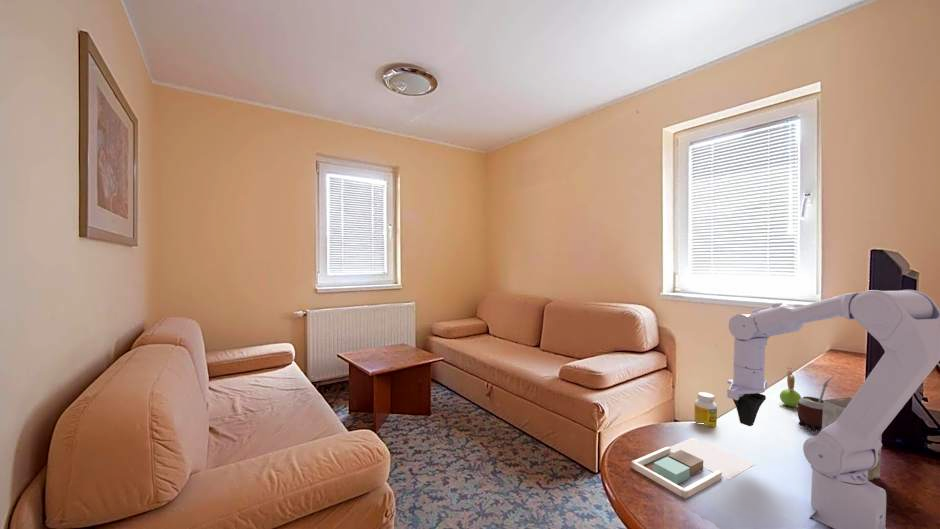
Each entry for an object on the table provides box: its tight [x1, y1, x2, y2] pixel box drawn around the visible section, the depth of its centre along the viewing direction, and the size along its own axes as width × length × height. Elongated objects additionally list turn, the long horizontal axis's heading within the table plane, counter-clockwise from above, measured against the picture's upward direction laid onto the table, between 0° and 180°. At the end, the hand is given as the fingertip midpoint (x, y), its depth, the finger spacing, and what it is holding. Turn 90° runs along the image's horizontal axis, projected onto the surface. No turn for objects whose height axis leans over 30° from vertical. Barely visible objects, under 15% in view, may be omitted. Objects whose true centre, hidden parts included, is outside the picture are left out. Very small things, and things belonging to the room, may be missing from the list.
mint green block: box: [652, 456, 691, 485], centre depth 79 cm, size 5×5×3 cm
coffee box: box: [822, 396, 883, 481], centre depth 84 cm, size 9×6×16 cm
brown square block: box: [667, 450, 704, 477], centre depth 83 cm, size 5×5×3 cm
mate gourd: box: [797, 374, 834, 432], centre depth 106 cm, size 8×8×15 cm
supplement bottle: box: [693, 391, 718, 428], centre depth 105 cm, size 5×5×10 cm
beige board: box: [669, 436, 756, 480], centre depth 87 cm, size 14×12×2 cm
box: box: [630, 446, 723, 500], centre depth 80 cm, size 12×14×3 cm
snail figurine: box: [779, 366, 802, 408], centre depth 122 cm, size 5×6×12 cm
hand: (746, 424), depth 86 cm, fingers closed
